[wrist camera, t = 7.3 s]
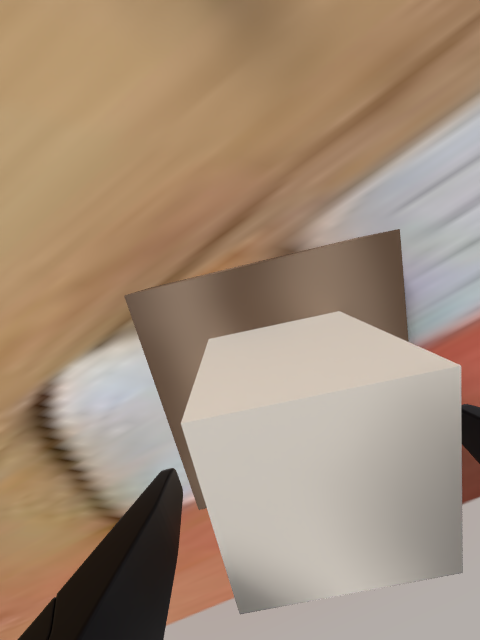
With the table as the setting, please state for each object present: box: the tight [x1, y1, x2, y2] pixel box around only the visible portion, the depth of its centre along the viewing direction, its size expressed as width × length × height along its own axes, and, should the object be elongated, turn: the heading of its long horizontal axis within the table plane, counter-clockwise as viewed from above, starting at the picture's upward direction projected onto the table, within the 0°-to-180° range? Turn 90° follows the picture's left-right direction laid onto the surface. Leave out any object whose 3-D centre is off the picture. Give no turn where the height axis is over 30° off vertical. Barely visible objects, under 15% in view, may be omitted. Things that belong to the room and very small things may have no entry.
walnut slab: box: [125, 229, 408, 510], centre depth 14 cm, size 12×12×4 cm
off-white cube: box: [181, 311, 463, 614], centre depth 9 cm, size 6×6×6 cm
